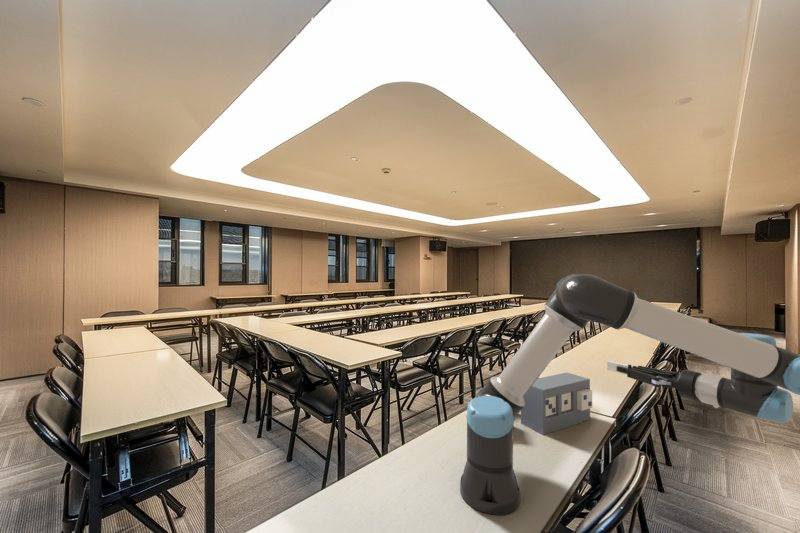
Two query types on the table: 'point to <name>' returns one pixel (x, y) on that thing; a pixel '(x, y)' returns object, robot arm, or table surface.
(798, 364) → the robot arm
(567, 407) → the one dot tile
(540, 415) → the tile console
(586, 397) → the two dot tile
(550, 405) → the three dot tile
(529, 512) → the table surface
